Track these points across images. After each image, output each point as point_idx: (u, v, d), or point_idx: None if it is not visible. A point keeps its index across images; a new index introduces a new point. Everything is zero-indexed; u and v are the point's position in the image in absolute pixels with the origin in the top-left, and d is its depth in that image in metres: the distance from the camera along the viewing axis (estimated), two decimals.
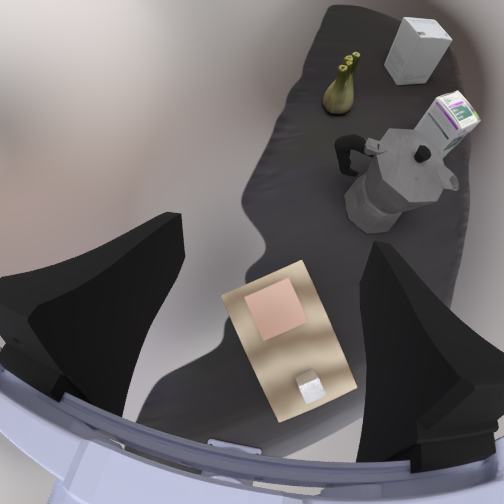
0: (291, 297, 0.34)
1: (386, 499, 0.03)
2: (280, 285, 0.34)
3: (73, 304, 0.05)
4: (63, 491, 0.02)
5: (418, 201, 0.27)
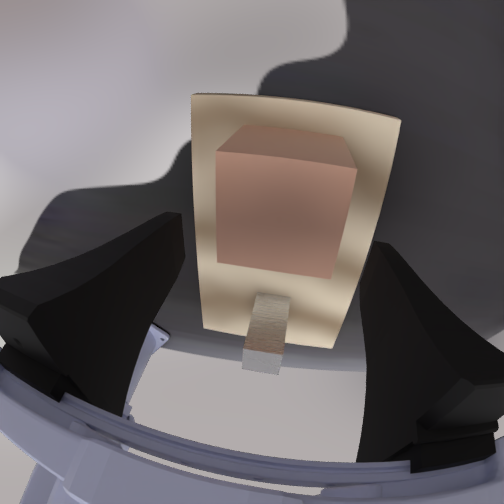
0: (331, 216, 0.12)
1: (386, 499, 0.03)
2: (323, 174, 0.11)
3: (73, 304, 0.05)
4: (63, 491, 0.02)
5: None
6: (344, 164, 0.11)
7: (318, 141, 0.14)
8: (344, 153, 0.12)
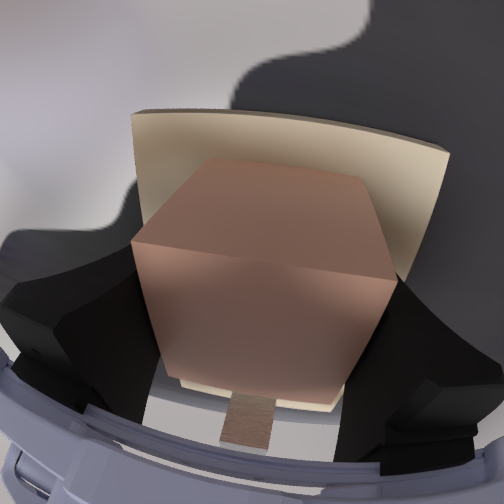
0: (340, 346, 0.07)
1: (386, 499, 0.03)
2: (333, 289, 0.06)
3: (99, 312, 0.05)
4: (63, 491, 0.02)
5: None
6: (373, 268, 0.06)
7: (324, 195, 0.08)
8: (370, 227, 0.07)
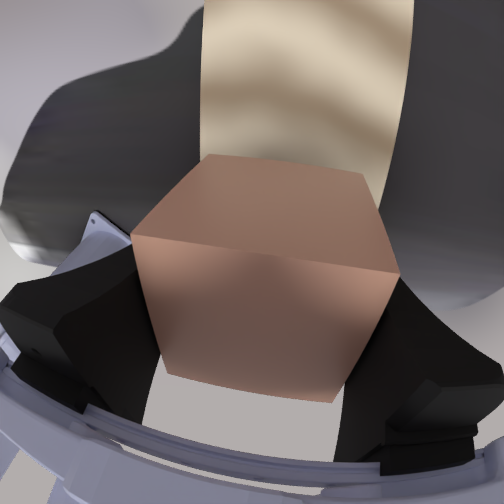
0: (342, 341, 0.07)
1: (386, 499, 0.03)
2: (335, 282, 0.06)
3: (98, 312, 0.05)
4: (63, 491, 0.02)
5: None
6: (376, 261, 0.06)
7: (325, 190, 0.08)
8: (371, 221, 0.07)
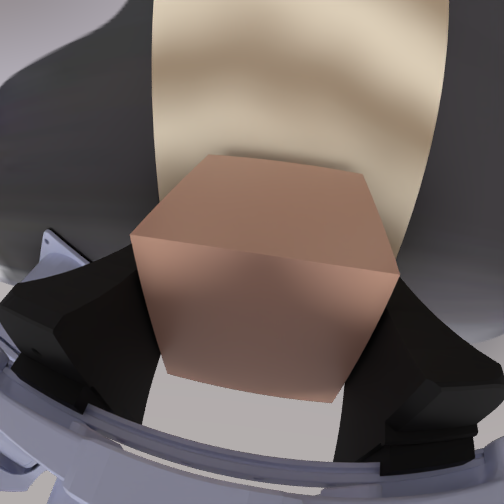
0: (342, 342, 0.07)
1: (386, 499, 0.03)
2: (334, 282, 0.06)
3: (98, 312, 0.05)
4: (63, 491, 0.02)
5: None
6: (375, 261, 0.06)
7: (325, 190, 0.08)
8: (371, 221, 0.07)
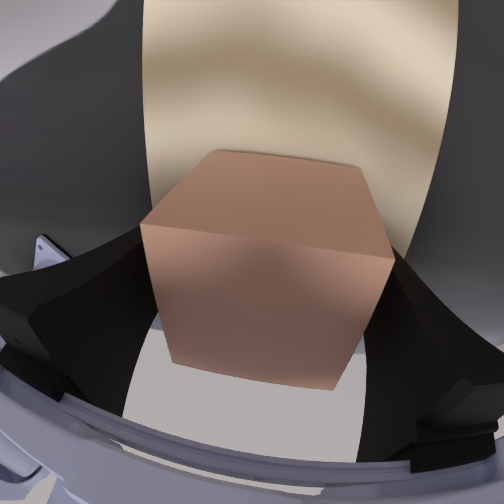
0: (341, 327, 0.07)
1: (386, 499, 0.03)
2: (334, 267, 0.06)
3: (73, 304, 0.05)
4: (63, 491, 0.02)
5: None
6: (372, 247, 0.06)
7: (324, 183, 0.09)
8: (368, 212, 0.07)
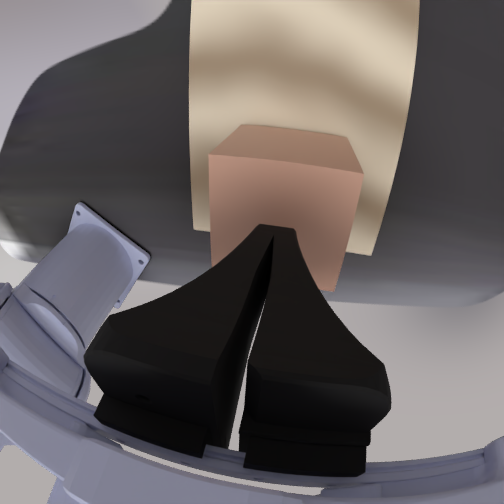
0: (335, 225, 0.11)
1: (386, 499, 0.03)
2: (327, 179, 0.10)
3: (232, 345, 0.05)
4: (63, 491, 0.02)
5: None
6: (350, 168, 0.10)
7: (321, 142, 0.13)
8: (349, 156, 0.11)
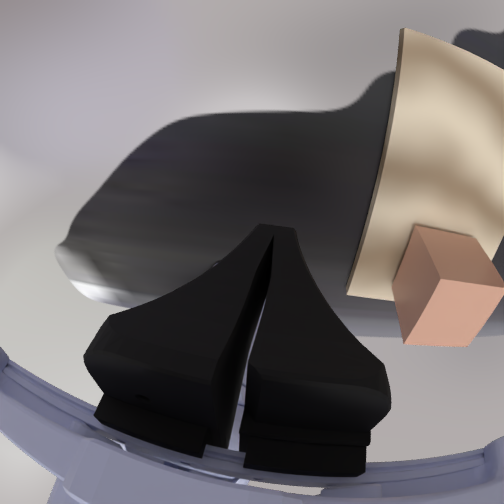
0: (484, 314, 0.14)
1: (386, 499, 0.03)
2: (491, 292, 0.13)
3: (232, 345, 0.05)
4: (63, 491, 0.02)
5: None
6: (500, 284, 0.13)
7: (472, 252, 0.16)
8: (492, 267, 0.14)
